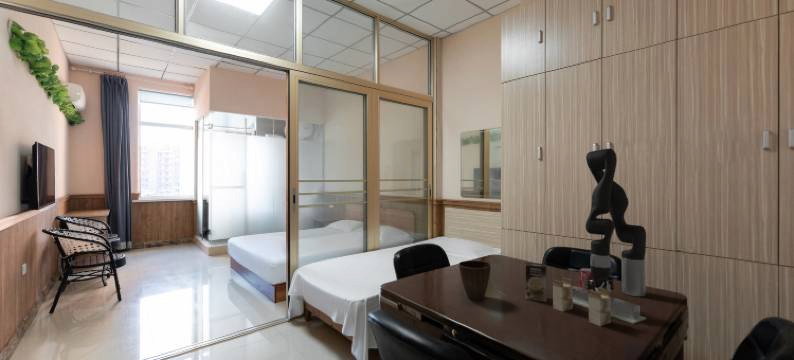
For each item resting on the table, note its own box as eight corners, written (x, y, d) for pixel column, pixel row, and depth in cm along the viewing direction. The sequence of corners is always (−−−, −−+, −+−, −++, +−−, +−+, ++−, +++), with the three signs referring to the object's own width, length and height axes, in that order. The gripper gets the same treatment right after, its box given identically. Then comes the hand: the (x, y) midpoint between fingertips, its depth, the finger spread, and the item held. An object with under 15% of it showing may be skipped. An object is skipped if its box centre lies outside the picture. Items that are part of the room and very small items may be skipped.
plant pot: (456, 300, 154) (455, 266, 154) (462, 290, 168) (462, 259, 168) (489, 304, 149) (488, 269, 149) (492, 294, 162) (492, 261, 163)
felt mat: (575, 296, 158) (575, 295, 158) (646, 319, 131) (646, 317, 131) (563, 299, 154) (563, 298, 154) (633, 323, 127) (633, 322, 127)
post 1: (563, 305, 147) (563, 277, 147) (572, 308, 143) (572, 279, 143) (553, 308, 144) (552, 279, 144) (562, 311, 140) (561, 282, 140)
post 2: (599, 318, 133) (599, 287, 133) (610, 322, 129) (610, 290, 129) (588, 321, 130) (588, 290, 130) (600, 326, 126) (599, 293, 126)
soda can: (598, 297, 156) (598, 271, 156) (582, 296, 158) (581, 271, 158) (592, 292, 163) (592, 267, 163) (577, 291, 165) (576, 267, 165)
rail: (574, 296, 156) (574, 285, 156) (639, 317, 131) (639, 305, 131) (568, 297, 154) (568, 287, 154) (634, 319, 129) (633, 307, 129)
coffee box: (525, 299, 155) (524, 265, 155) (526, 295, 161) (525, 262, 161) (546, 302, 151) (546, 267, 151) (547, 297, 157) (546, 263, 157)
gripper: (601, 260, 149) (602, 296, 149) (581, 264, 143) (582, 302, 143) (619, 264, 142) (620, 302, 142) (599, 268, 136) (599, 308, 136)
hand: (601, 302), depth 143 cm, fingers open, 8 cm apart
